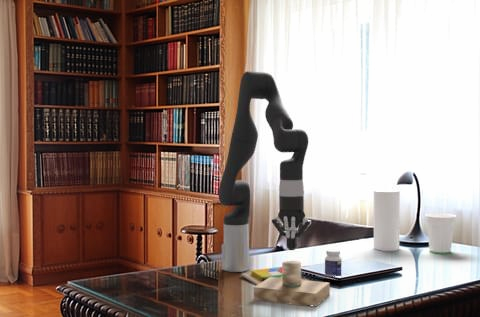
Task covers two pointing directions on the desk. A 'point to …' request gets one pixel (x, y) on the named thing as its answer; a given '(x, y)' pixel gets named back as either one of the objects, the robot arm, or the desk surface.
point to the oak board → (292, 292)
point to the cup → (440, 232)
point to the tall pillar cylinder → (386, 219)
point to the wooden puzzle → (264, 275)
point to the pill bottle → (332, 263)
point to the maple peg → (291, 273)
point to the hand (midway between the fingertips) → (291, 249)
